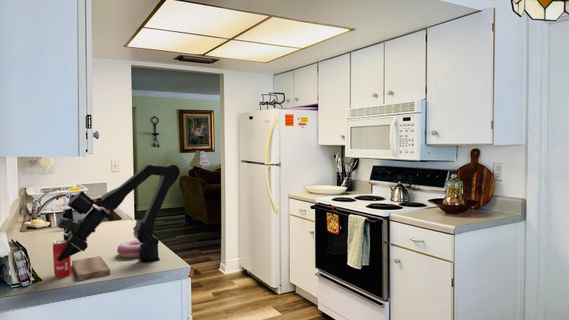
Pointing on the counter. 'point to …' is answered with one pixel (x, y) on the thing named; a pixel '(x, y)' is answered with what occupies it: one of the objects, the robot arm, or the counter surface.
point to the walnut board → (90, 268)
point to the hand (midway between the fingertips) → (57, 258)
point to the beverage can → (62, 266)
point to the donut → (129, 249)
